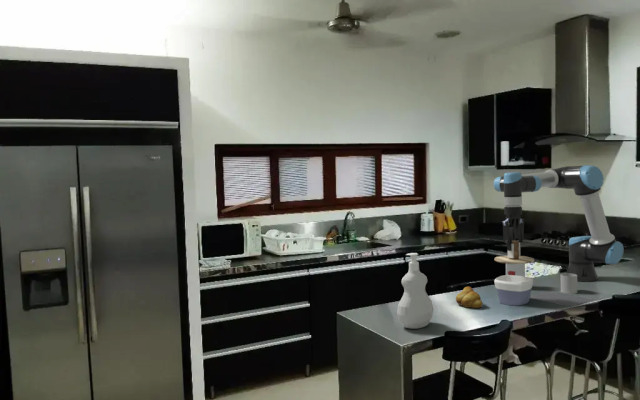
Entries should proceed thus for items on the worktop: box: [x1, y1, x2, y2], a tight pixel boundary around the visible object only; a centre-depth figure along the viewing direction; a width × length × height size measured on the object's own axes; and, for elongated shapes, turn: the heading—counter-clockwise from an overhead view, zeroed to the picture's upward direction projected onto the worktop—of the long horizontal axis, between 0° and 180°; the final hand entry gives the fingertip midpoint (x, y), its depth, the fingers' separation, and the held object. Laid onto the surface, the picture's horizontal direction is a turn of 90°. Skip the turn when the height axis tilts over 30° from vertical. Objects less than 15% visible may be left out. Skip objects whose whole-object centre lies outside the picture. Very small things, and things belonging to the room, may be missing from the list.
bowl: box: [493, 274, 534, 307], centre depth 225 cm, size 15×15×11 cm
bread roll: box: [455, 286, 483, 309], centre depth 222 cm, size 13×10×8 cm
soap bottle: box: [396, 252, 434, 330], centre depth 196 cm, size 17×12×29 cm
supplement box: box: [505, 263, 526, 277], centre depth 250 cm, size 9×9×15 cm
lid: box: [494, 240, 535, 265], centre depth 224 cm, size 17×17×9 cm
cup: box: [560, 272, 578, 295], centre depth 238 cm, size 7×10×9 cm
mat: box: [529, 290, 594, 308], centre depth 226 cm, size 18×22×1 cm
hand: (514, 257), depth 224 cm, fingers closed on lid, 4 cm apart
